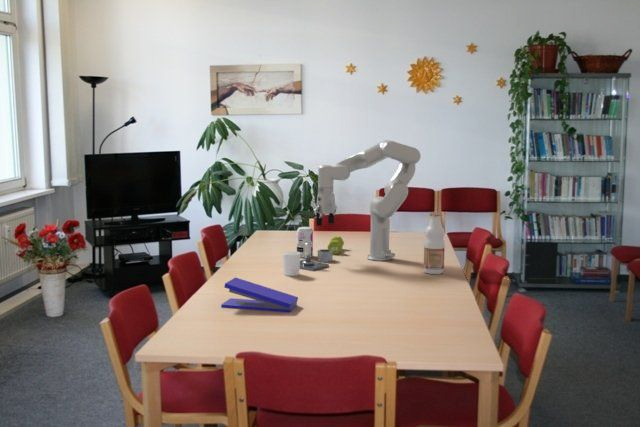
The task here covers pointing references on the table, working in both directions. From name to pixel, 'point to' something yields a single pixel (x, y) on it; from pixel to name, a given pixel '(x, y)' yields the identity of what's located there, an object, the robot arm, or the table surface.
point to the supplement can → (304, 239)
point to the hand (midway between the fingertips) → (325, 224)
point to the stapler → (258, 297)
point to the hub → (325, 255)
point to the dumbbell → (336, 244)
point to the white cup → (291, 263)
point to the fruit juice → (434, 246)
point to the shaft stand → (309, 264)
